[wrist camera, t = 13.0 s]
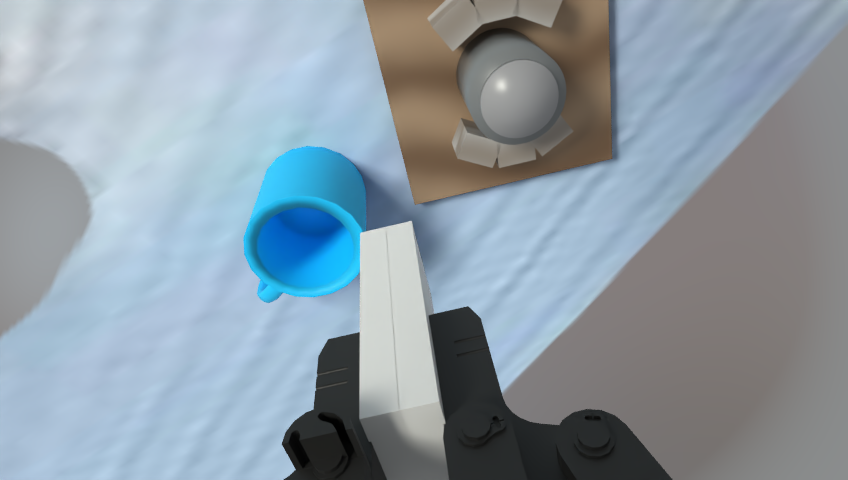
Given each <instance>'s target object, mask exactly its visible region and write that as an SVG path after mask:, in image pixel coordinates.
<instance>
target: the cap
mask: <svg viewBox="0 0 848 480" xmlns="http://www.w3.org/2000/svg"><path fill="white" fill-rule="evenodd" d="M456 80H457V85H458V89H459V91H460V93H461V96H462V98H463V100H464V102H465V104H466V106H467V108H468V110H469V112H470V114H471V116H472V118H473V120H474V122H475V124H476V125H477V127H478V128H479V130H480V131H481V132H482V133H483V134H484V135H485V136H487V137H488V138H490V139H491V140H493V141H496V142H498V143H502V144H508V145H516V144H523V143H527V142H530V141H532V140H535V139H537V138H538V137H540V136H542V135H543V134H544V133H546V132H547V131H548V130H549V129H550V128H551V127H552V126H553V125H554V124H555V122H556V121H557V119H558V118H559V116H560V114H561V112H562V110H563V107H564V104H565V100H566V82H565V78H564V75H563V73H562V71H561V69H560V67H559V66H558V64H557V63H556V62H555V61H554V60H553V59H552V58H551V57H550V56H549V55H547V54H546V53H545V52H544V51H543V50H542V49H540V48H539V47H538V46H537V45H536V44H535V43H533V42H532V41H531V40H530V39H529V38H528V37H526V36H525V35H524V34H522V33H520V32H518V31H516V30H513V29H509V28H496V29H491V30H488V31H485V32H483V33H481V34H479V35H478V36H476V37H475V38H474V39H473V40H471V41H470V43H469V44H468V45H467V46H466V47H465V49H464V50H463V52H462V54H461V56H460V58H459V61H458V64H457V70H456Z"/></svg>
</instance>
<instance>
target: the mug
mask: <svg viewBox="0 0 848 480" xmlns="http://www.w3.org/2000/svg"><path fill="white" fill-rule="evenodd" d="M361 232H366V189H365V186H364V182H363V179H362V176H361V174H360V173H359V171H358V170H357V169H356V167H355V166H354V164H353V163H352V162H350V161H349V160H348V159H346V158H345V157H344V156H343V155H341V154H340V153H337V152H335V151H332V150H329V149H327V148H323V147H310V146H306V147H301V148H297V149H292V150H290V151H288V152H286V153H285V154H283V155H281V156H279V157H278V158H277V159H276V160H275V161H274V162H273V163H272V164H271V166H270V167H269V168H268V169H267V172H266V174H265V177H264V180H263V183H262V186H261V189H260V192H259V195H258V198H257V201H256V203H255V206H254V209H253V212H252V215H251V218H250V221H249V224H248V227H247V229H246V232H245V235H244V254H245V257H246V259H247V261H248V263H249V266H250V268H251V270H252V271H253V272H254V273H255V274H256V275H257V276H258V277H259V278H260V279H261V280H260V283H259V286H258V292H257V294H258V296H259V298H260V299H261V300H262V301H264V302H267V303H270V302H273V301H274V300H276V299H278V298H279V297H280V296H281V294H282V293H286V294H289V295H293V296H298V297H317V296H322V295H327V294H331V293H334V292H335V291H337V290H339V289H341V288H343V287H345V286H347V285H348V284H349V283H350V282H351V281H352V280H353V279H354V278H355V277H356V276H357V275H358V274H359V272H360V233H361Z"/></svg>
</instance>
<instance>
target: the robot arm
mask: <svg viewBox="0 0 848 480" xmlns="http://www.w3.org/2000/svg"><path fill="white" fill-rule="evenodd" d="M317 375H318V377H317V379H316V391H315V400H314V410H311V411H309V412H306V413H305V414H303V415H302V416H301V417H299V418H298V419H297V420H295V421H294V422H293V424H292V425H291V426H290V427H289V429H288V430H287V431H286V433H285V436H284V439H283V442H282V445H283V447H284V449H285V451H286V453H287V454H288V456H289V458H290V460H291V461H292V463H293V465H294V467H295V469H296V470H295V471H294V472H293V473H292V474H291V475H290V476H288V477H287V478H285V479H284V480H672V479H671V477H670V476H669V475H668V474H667V473H666V472H665V470H664V469H663V468H662V467H661V466H660V464H659V463H658V462H657V461H656V460H655V458H654V457H653V456H652V455H651V454H650V453H649V451H648V450H647V449H646V448H645V447H644V445H643V444H642V443H641V442H640V441H639V439H638V438H637V437H636V436H635V435H634V434H633V432H632V431H631V430H630V429H629V428H628V426H627V425H626V424H625V423H623V422H622V421H621V420H620V419H618V418H617V417H616V416H615V415H612V414H610V413H607V412H605V411H602V410H591V409H586V410H581V411H578V412H574V413H572V414H571V415H569V416H568V417H566V418H565V419H564V420H562V422H561V424H560V425H550V424H539V423H533V422H529V421H526V420H524V419H521V418H520V417H518V416H517V415H515V414H514V413H512V412H511V410H510V409H509V408H508V407H507V406H506V404H505V402H504V399H503V397H502V393H501V390H500V386H499V382H498V379H497V375H496V372H495V368H494V365H493V361H492V357H491V354H490V351H489V347H488V343H487V340H486V336H485V332H484V329H483V325H482V322H481V318H480V317H479V316H478V315H477V314H476V313H475V312H474V311H473V310H472V309H470V308H469V307H463V308H459V309H454V310H450V311H445V312H441V313H437V314H434V310H433V304H432V298H431V293H430V289H429V286H428V282H427V278H426V274H425V270H424V266H423V263H422V259H421V255H420V251H419V247H418V243H417V240H416V236H415V232H414V228H413V224H412V221H409V222H404V223H400V224H396V225H391V226H387V227H383V228H378V229H374V230H370V231H366V232H361V233H360V332H359V333H354V334H350V335H345V336H341V337H337V338H332V339H328V341H327V342H326V344H325V346H324V348H323V349H322V351H321V353H320V355H319V358H318V368H317Z"/></svg>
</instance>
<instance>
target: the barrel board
mask: <svg viewBox="0 0 848 480" xmlns="http://www.w3.org/2000/svg"><path fill="white" fill-rule="evenodd" d="M363 1H364V5H365V9H366V13H367V17H368V21H369V25H370V29H371V33H372V37H373V41H374V45H375V49H376V52H377V56H378V60H379V64H380V68H381V72H382V76H383V80H384V84H385V88H386V92H387V96H388V100H389V104H390V108H391V112H392V116H393V120H394V124H395V128H396V132H397V136H398V140H399V144H400V148H401V152H402V155H403V159H404V163H405V167H406V171H407V175H408V179H409V183H410V187H411V191H412V195H413V199H414V203H415V205H416V204H420V203H424V202H429V201H433V200H437V199H441V198H446V197H450V196H454V195H459V194H463V193H467V192H471V191H476V190H480V189H484V188H489V187H493V186H497V185H501V184H506V183H510V182H514V181H519V180H523V179H527V178H532V177H536V176H540V175H544V174H549V173H553V172H557V171H562V170H566V169H570V168H574V167H579V166H583V165H587V164H592V163H596V162H600V161H604V160H609V159H612V134H611V92H610V49H609V7H608V0H363ZM496 28H509V29H513V30H516V31H518V32H520V33H522V34H524V35H525V36H526V37H528V38H529V39H530V40H531V41H532V42H533V43H535V44H536V45H537V46H538V47H539V48H540V49H542V50H543V51H544V52H545V53H546V54H547V55H549V56H550V57H551V58H552V59H553V60H554V61H555V62H556V63H557V64H558V66H559V67H560V69H561V71H562V73H563V75H564V78H565V82H566V100H565V104H564V107H563V110H562V112H561V114H560V116H559V118H558V119H557V121H556V122H555V124H554V125H553V126H552V127H551V128H550V129H549V130H548V131H547V132H546V133H544V134H543V135H542V136H540V137H538V138H537V139H535V140H532V141H530V142H527V143H523V144H516V145H508V144H502V143H498V142H496V141H493V140H491V139H490V138H488V137H487V136H485V135H484V134H483V133H482V132H481V131H480V130H479V128H478V127H477V125H476V124H475V122H474V120H473V118H472V116H471V114H470V112H469V110H468V108H467V106H466V104H465V102H464V100H463V98H462V96H461V93H460V91H459V89H458V85H457V80H456V70H457V64H458V61H459V58H460V56H461V54H462V52H463V50H464V49H465V47H466V46H467V45H468V44H469V43H470V41H471V40H473V39H474V38H475V37H476V36H478V35H479V34H481V33H483V32H485V31H488V30H491V29H496Z"/></svg>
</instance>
